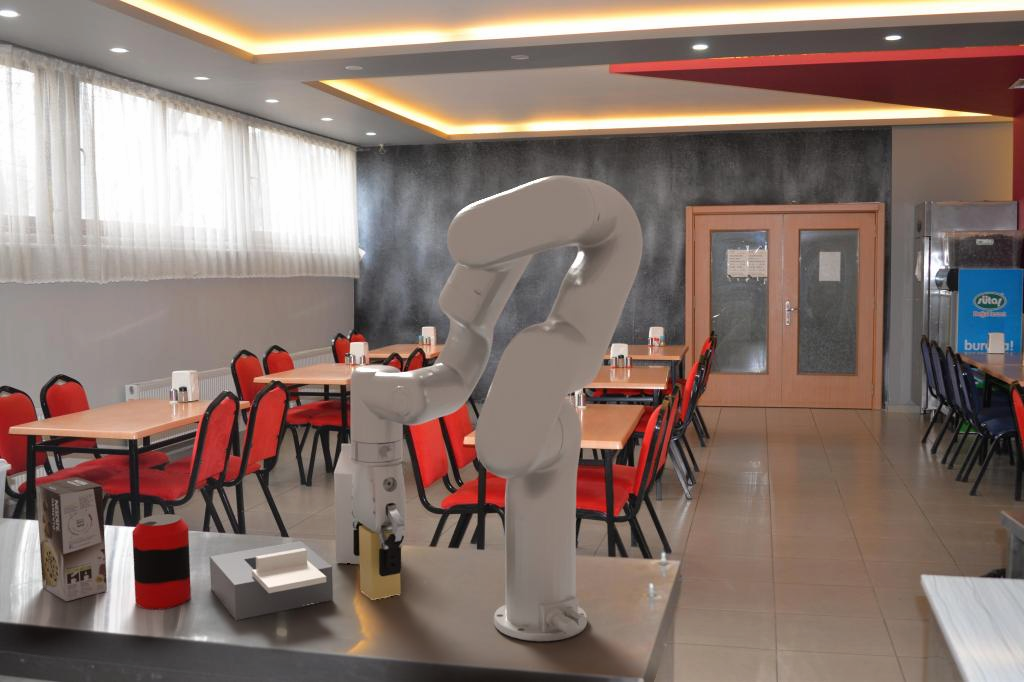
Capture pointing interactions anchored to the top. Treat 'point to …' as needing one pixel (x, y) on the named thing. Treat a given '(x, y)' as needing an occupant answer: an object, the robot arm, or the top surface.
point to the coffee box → (72, 538)
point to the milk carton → (344, 507)
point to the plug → (374, 566)
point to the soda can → (161, 562)
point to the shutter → (286, 571)
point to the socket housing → (247, 593)
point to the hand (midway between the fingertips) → (376, 563)
